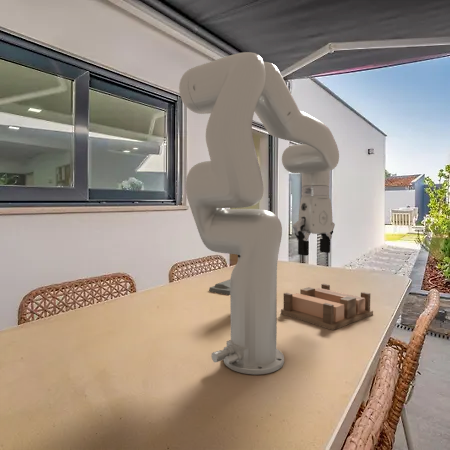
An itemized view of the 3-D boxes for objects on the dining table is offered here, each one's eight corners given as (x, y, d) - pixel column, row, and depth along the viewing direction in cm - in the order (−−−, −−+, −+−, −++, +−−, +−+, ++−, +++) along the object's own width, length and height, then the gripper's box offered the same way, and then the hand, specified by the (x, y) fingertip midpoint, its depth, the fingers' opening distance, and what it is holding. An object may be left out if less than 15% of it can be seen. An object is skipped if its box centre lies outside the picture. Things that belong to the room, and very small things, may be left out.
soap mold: (257, 285, 141) (257, 277, 141) (230, 296, 124) (230, 287, 124) (236, 282, 147) (236, 274, 147) (207, 292, 130) (207, 283, 130)
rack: (332, 330, 89) (333, 306, 89) (281, 313, 103) (281, 292, 103) (373, 314, 101) (373, 293, 101) (321, 301, 116) (321, 283, 115)
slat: (344, 318, 94) (344, 304, 94) (335, 322, 92) (336, 307, 91) (297, 305, 107) (297, 293, 106) (289, 308, 104) (289, 295, 104)
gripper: (306, 191, 88) (305, 257, 89) (344, 193, 99) (343, 252, 100) (284, 192, 94) (283, 254, 95) (323, 194, 105) (322, 250, 106)
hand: (314, 253), depth 98 cm, fingers open, 9 cm apart
